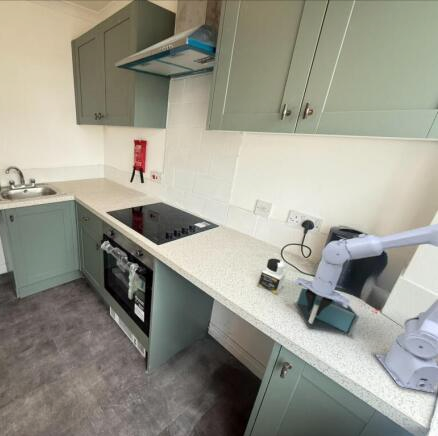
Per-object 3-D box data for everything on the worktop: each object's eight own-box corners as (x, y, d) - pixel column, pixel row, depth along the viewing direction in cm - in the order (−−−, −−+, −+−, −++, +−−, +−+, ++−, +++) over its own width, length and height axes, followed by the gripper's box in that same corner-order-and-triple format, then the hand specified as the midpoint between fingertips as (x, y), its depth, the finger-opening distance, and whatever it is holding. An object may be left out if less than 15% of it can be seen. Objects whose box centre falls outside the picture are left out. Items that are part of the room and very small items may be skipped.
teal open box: (350, 336, 78) (359, 316, 75) (309, 329, 80) (316, 310, 77) (331, 310, 89) (339, 292, 86) (296, 305, 91) (302, 287, 88)
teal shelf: (344, 340, 75) (352, 322, 73) (305, 321, 82) (312, 304, 79) (346, 331, 79) (354, 313, 76) (309, 313, 86) (315, 297, 83)
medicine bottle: (257, 285, 101) (264, 260, 97) (264, 278, 106) (271, 254, 101) (275, 294, 97) (283, 268, 92) (281, 286, 101) (289, 261, 97)
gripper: (358, 284, 73) (343, 319, 78) (305, 263, 84) (295, 295, 89) (352, 293, 69) (336, 329, 74) (297, 270, 80) (287, 303, 85)
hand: (313, 311), depth 81 cm, fingers closed
